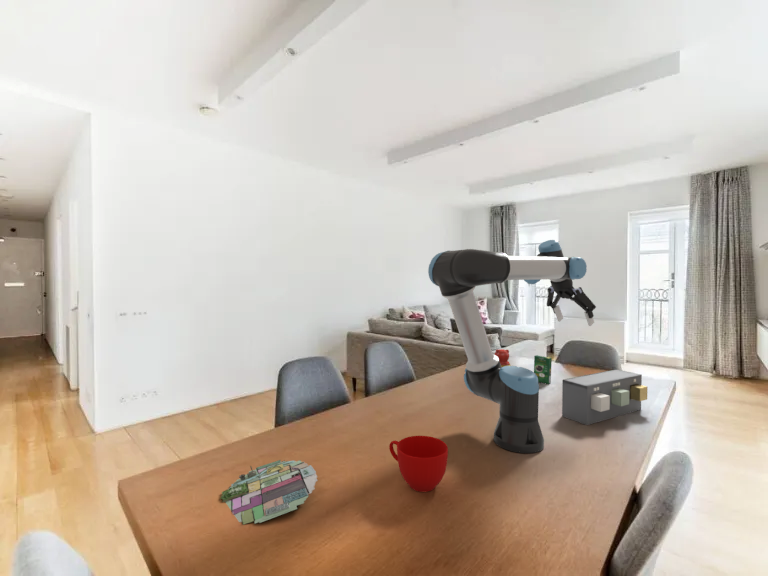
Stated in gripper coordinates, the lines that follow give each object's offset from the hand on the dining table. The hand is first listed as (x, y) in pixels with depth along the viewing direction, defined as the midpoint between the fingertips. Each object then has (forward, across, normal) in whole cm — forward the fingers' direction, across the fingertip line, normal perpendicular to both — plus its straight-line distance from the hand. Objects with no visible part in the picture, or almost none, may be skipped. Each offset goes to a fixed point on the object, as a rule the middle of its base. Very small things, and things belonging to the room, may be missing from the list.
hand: (575, 321), depth 155 cm
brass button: (+31, -17, +3) cm, 36 cm away
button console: (+30, -12, +16) cm, 36 cm away
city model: (-34, -5, +124) cm, 129 cm away
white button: (+19, -17, +24) cm, 35 cm away
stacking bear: (+28, +35, +22) cm, 50 cm away
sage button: (+25, -17, +13) cm, 33 cm away
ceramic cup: (-17, -18, +94) cm, 98 cm away
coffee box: (+40, +28, +4) cm, 49 cm away
